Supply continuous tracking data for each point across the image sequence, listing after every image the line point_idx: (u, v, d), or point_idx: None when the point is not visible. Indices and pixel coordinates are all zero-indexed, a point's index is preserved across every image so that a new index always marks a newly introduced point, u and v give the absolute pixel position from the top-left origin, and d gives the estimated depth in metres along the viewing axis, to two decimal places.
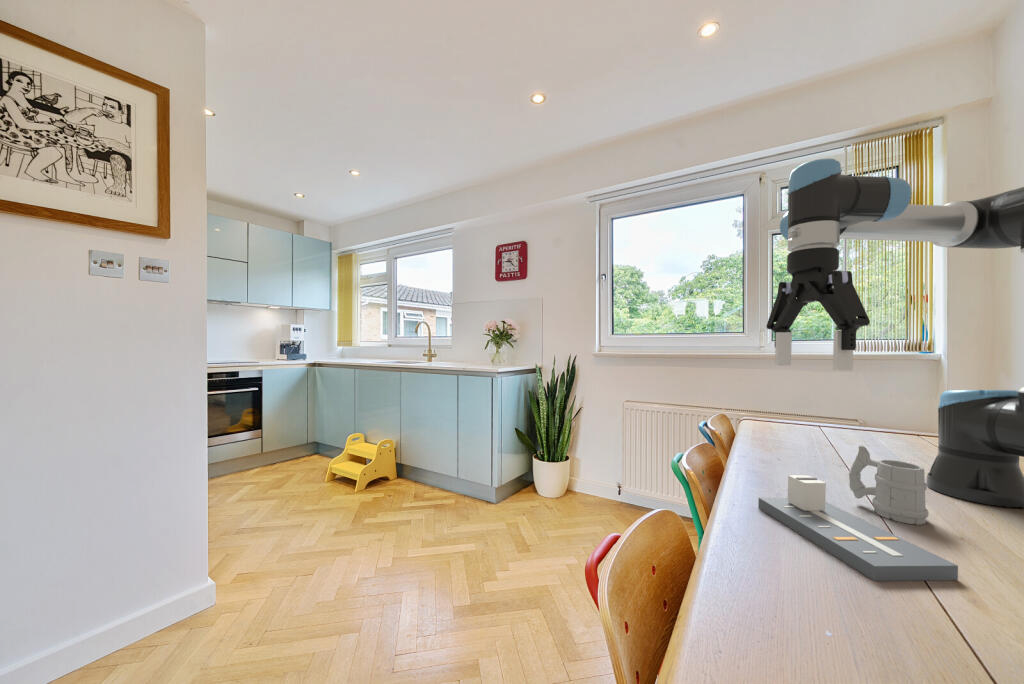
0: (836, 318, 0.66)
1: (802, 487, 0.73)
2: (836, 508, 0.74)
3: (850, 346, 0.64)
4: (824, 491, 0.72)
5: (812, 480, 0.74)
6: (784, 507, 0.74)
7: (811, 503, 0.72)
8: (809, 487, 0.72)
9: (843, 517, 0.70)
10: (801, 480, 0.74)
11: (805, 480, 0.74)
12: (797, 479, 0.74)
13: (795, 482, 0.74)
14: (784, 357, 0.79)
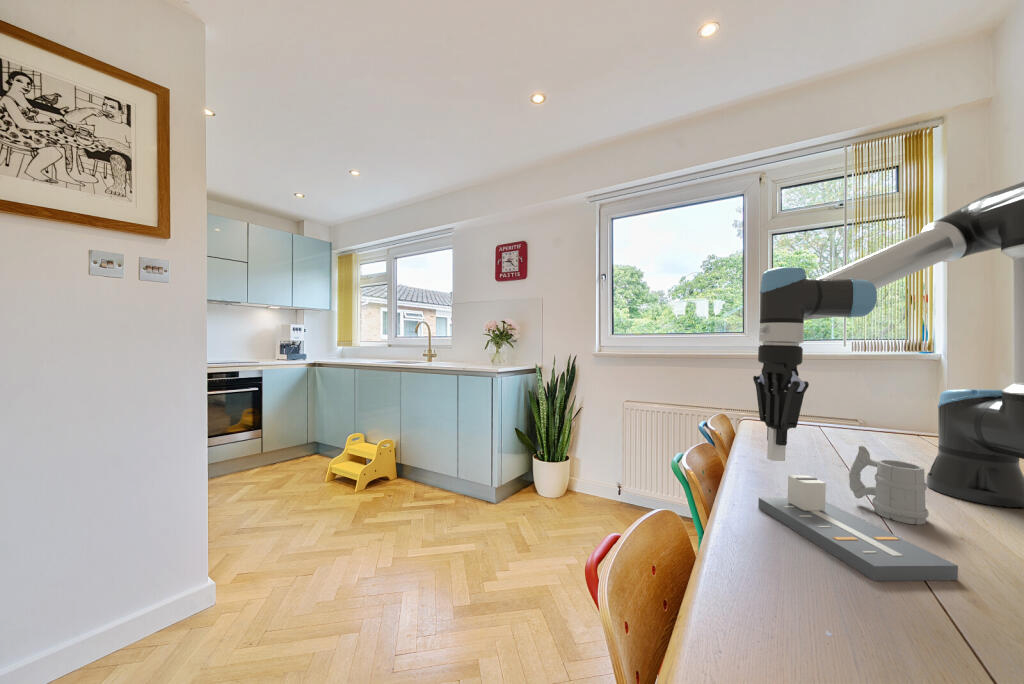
0: (776, 418, 0.80)
1: (802, 487, 0.73)
2: (836, 508, 0.74)
3: (782, 442, 0.80)
4: (824, 491, 0.72)
5: (812, 480, 0.74)
6: (784, 507, 0.74)
7: (811, 503, 0.72)
8: (809, 487, 0.72)
9: (843, 517, 0.70)
10: (801, 480, 0.74)
11: (805, 480, 0.74)
12: (797, 479, 0.74)
13: (795, 482, 0.74)
14: None
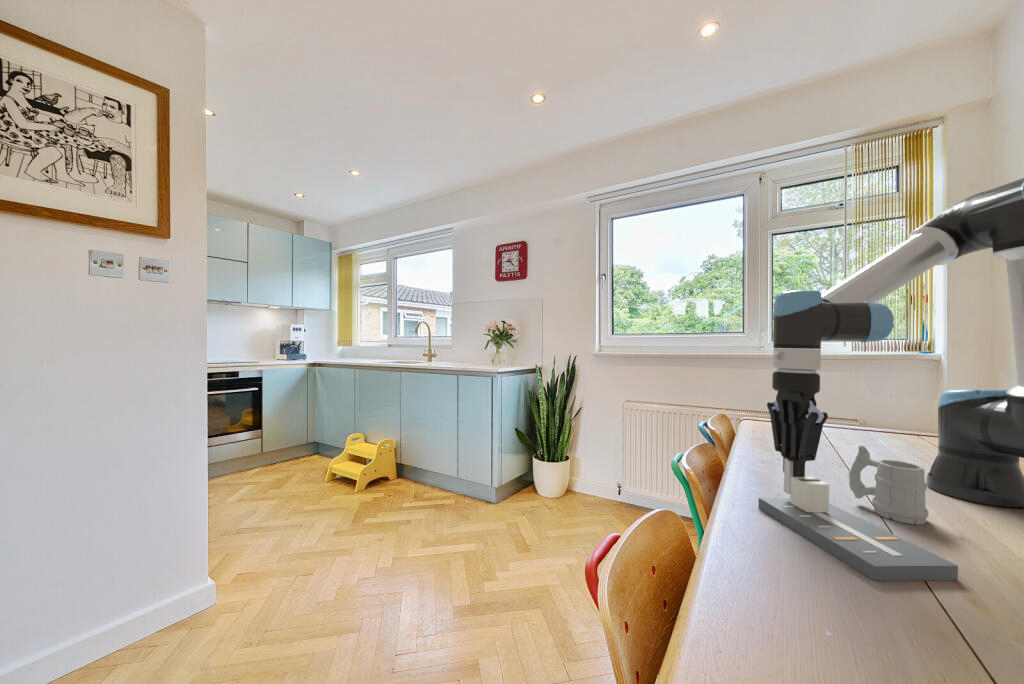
0: (793, 449, 0.76)
1: (805, 488, 0.72)
2: (836, 508, 0.74)
3: (800, 476, 0.76)
4: (827, 493, 0.72)
5: (815, 481, 0.73)
6: (784, 507, 0.74)
7: (814, 504, 0.72)
8: (812, 488, 0.72)
9: (843, 517, 0.70)
10: (804, 481, 0.73)
11: (808, 481, 0.73)
12: (800, 480, 0.73)
13: (798, 483, 0.74)
14: None
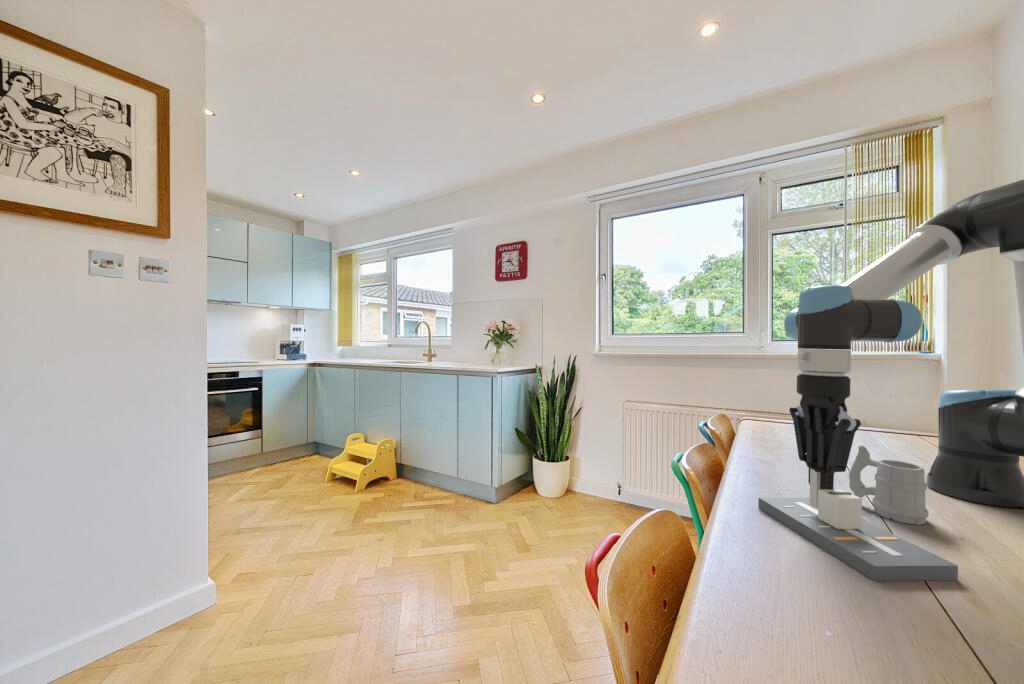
0: (821, 459, 0.70)
1: (836, 503, 0.66)
2: None
3: (828, 488, 0.69)
4: (860, 507, 0.65)
5: (846, 495, 0.67)
6: (784, 507, 0.74)
7: (846, 520, 0.65)
8: (843, 503, 0.65)
9: None
10: (834, 495, 0.66)
11: (838, 495, 0.66)
12: (829, 494, 0.67)
13: (827, 497, 0.67)
14: None
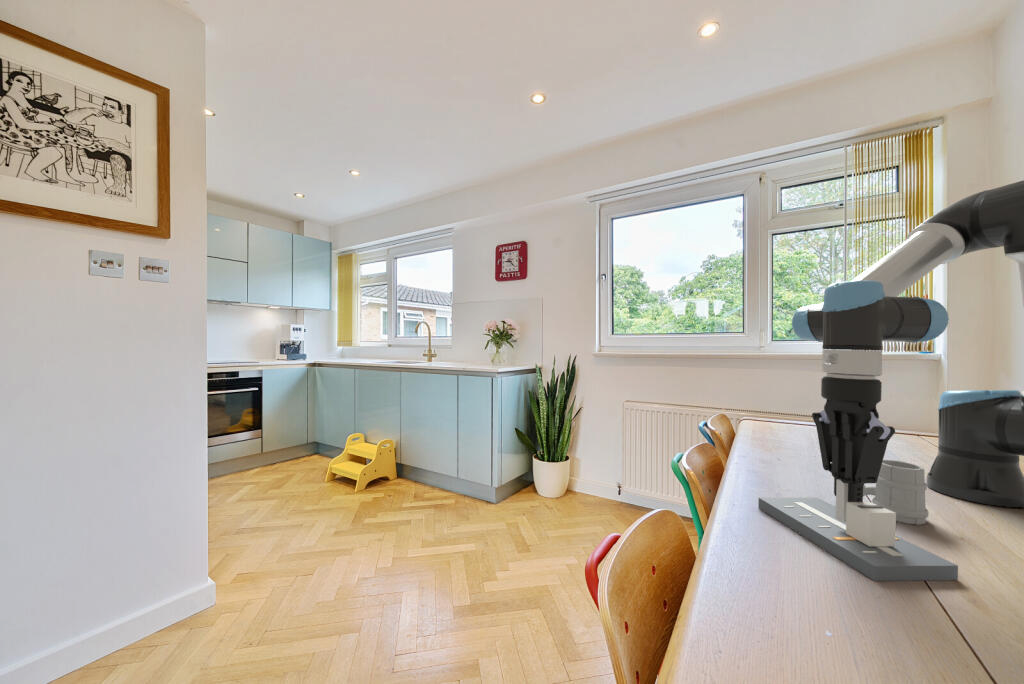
0: (849, 469, 0.64)
1: (867, 517, 0.60)
2: None
3: (857, 501, 0.64)
4: (894, 523, 0.60)
5: (878, 509, 0.61)
6: (784, 507, 0.74)
7: (878, 537, 0.60)
8: (875, 518, 0.60)
9: None
10: (865, 509, 0.61)
11: (870, 509, 0.61)
12: (859, 507, 0.61)
13: (857, 511, 0.62)
14: None
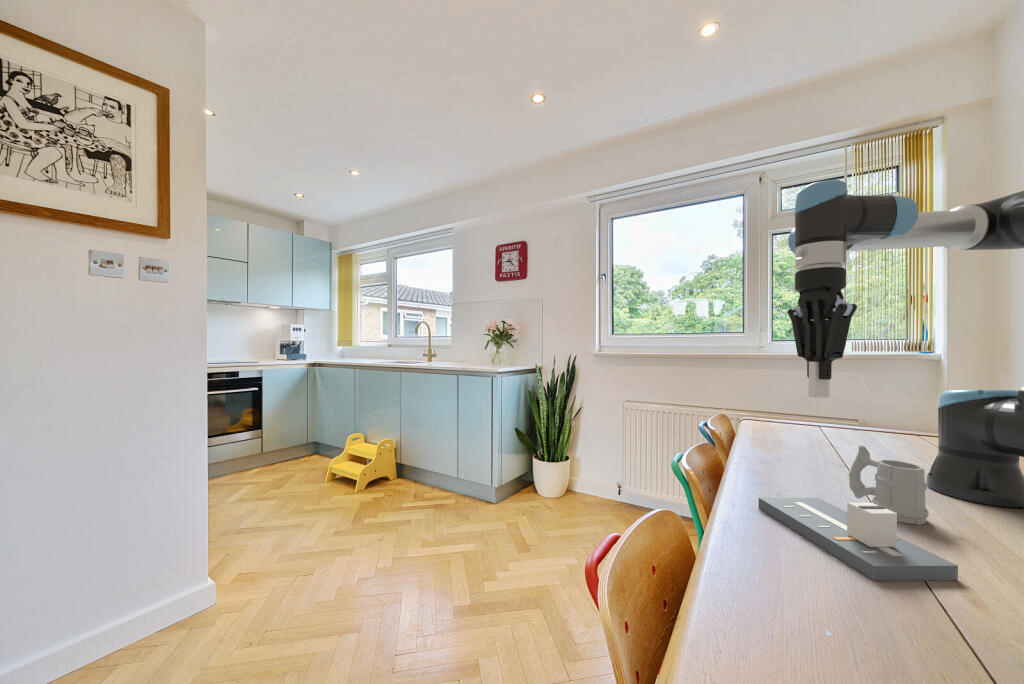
0: (819, 349, 0.72)
1: (868, 518, 0.60)
2: (836, 508, 0.74)
3: (826, 376, 0.72)
4: (895, 523, 0.60)
5: (879, 509, 0.61)
6: (784, 507, 0.74)
7: (880, 537, 0.60)
8: (876, 519, 0.60)
9: (843, 517, 0.70)
10: (866, 509, 0.61)
11: (871, 509, 0.61)
12: (861, 508, 0.61)
13: (858, 511, 0.62)
14: None
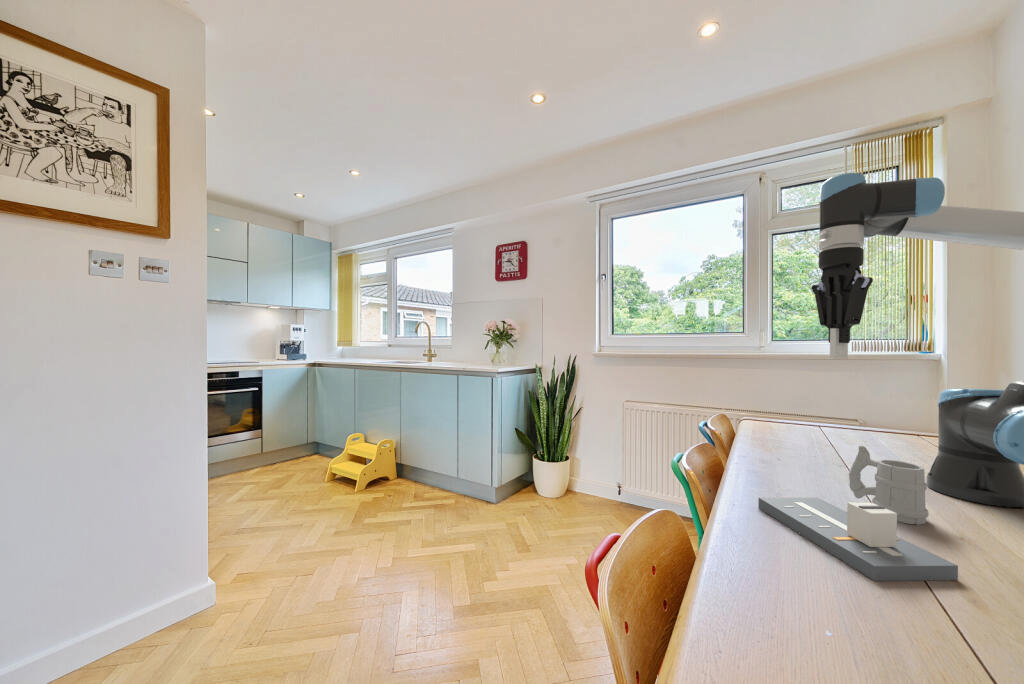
0: (839, 317, 0.85)
1: (868, 518, 0.60)
2: (836, 508, 0.74)
3: (845, 340, 0.85)
4: (895, 523, 0.60)
5: (879, 509, 0.61)
6: (784, 507, 0.74)
7: (880, 537, 0.60)
8: (876, 519, 0.60)
9: (843, 517, 0.70)
10: (866, 509, 0.61)
11: (871, 509, 0.61)
12: (861, 508, 0.61)
13: (858, 511, 0.62)
14: None
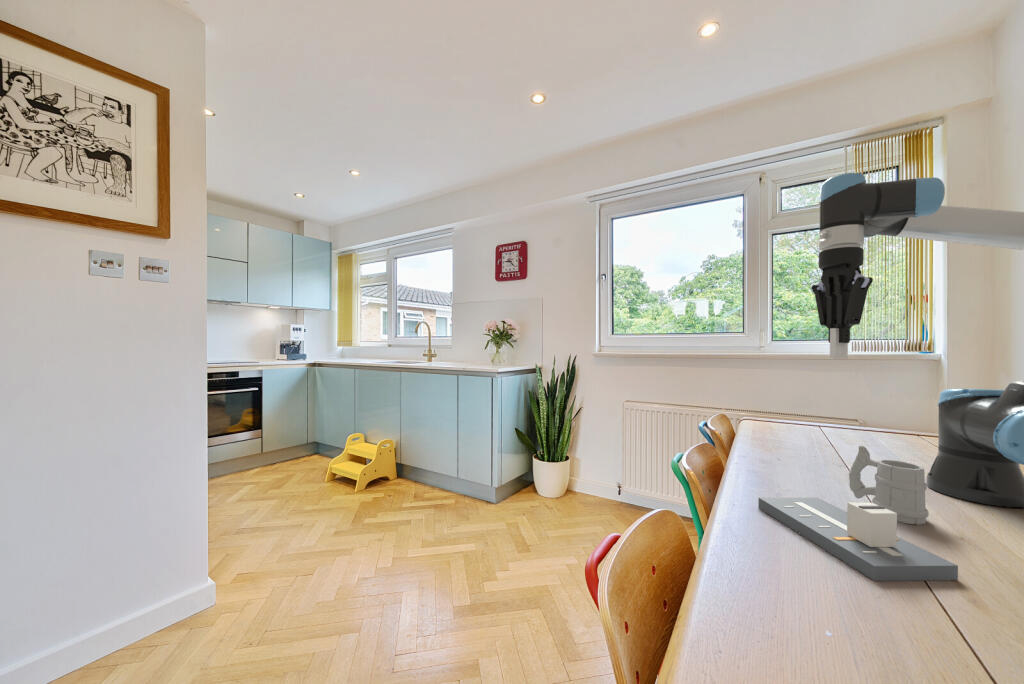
0: (839, 317, 0.85)
1: (868, 518, 0.60)
2: (836, 508, 0.74)
3: (845, 340, 0.85)
4: (895, 523, 0.60)
5: (879, 509, 0.61)
6: (784, 507, 0.74)
7: (880, 537, 0.60)
8: (876, 519, 0.60)
9: (843, 517, 0.70)
10: (866, 509, 0.61)
11: (871, 509, 0.61)
12: (861, 508, 0.61)
13: (858, 511, 0.62)
14: None
